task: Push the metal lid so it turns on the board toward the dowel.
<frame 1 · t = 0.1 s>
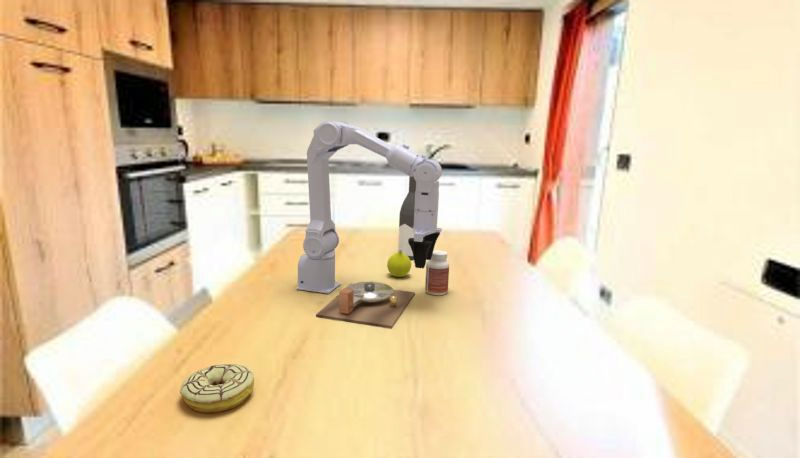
hand: (423, 263, 112), 10 cm above the table, fingers open, 7 cm apart
ornament: (398, 277, 133), on the table
pill bottle: (436, 292, 121), on the table
metal lid: (363, 290, 110), point 4 cm above the table, hinge at 0.0°
board: (369, 304, 110), on the table
dowel: (392, 308, 109), resting on board
decorated donut: (219, 398, 72), on the table
wine bottle: (409, 257, 153), on the table
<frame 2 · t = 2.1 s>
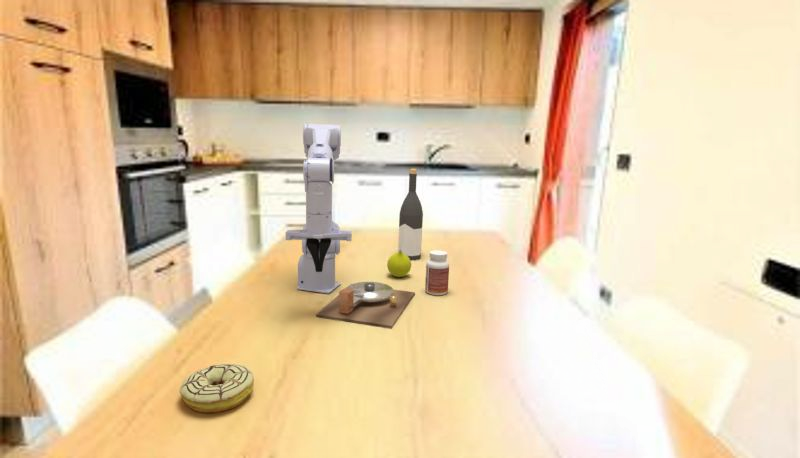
hand: (319, 270, 103), 10 cm above the table, fingers closed
nothing on the table moved.
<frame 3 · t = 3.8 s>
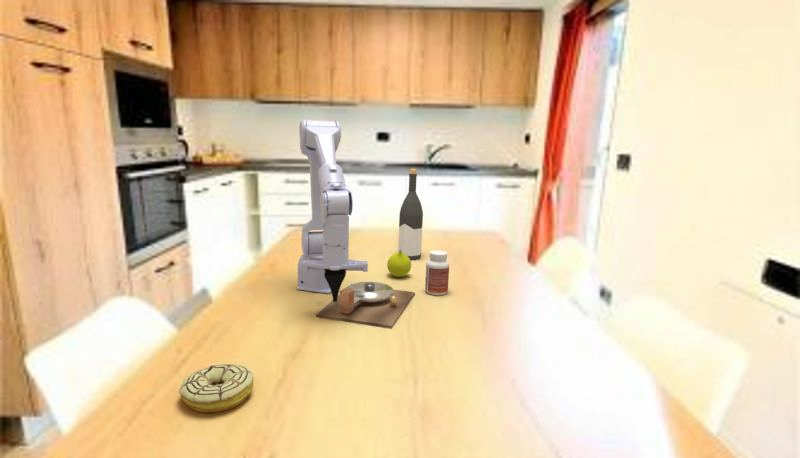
hand: (335, 300, 103), 3 cm above the table, fingers closed, pressing on metal lid
metal lid: (363, 290, 110), point 3 cm above the table, hinge at 0.8°, touching gripper
everything else where it was.
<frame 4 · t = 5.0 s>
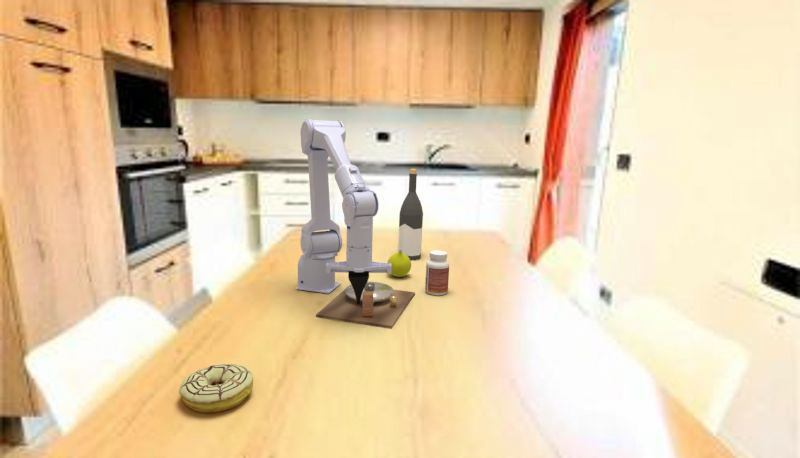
hand: (358, 302, 102), 3 cm above the table, fingers closed
metal lid: (369, 291, 110), point 3 cm above the table, hinge at 27.2°, touching gripper
everything else where it was.
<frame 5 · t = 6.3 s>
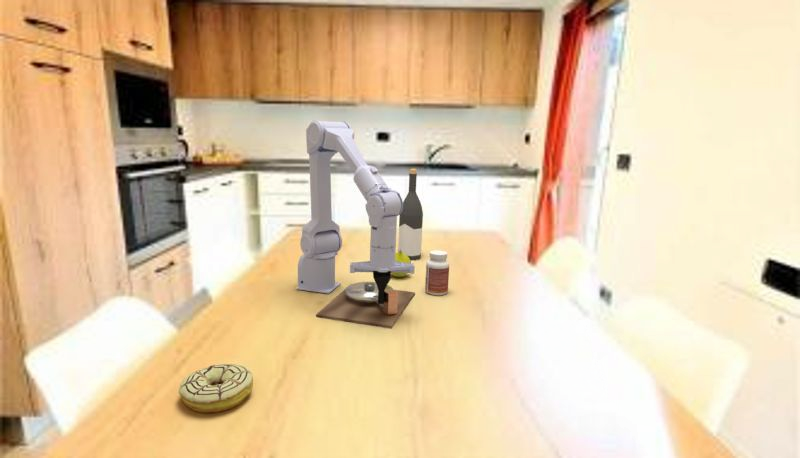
hand: (381, 302, 103), 3 cm above the table, fingers closed, pressing on metal lid
metal lid: (375, 290, 110), point 3 cm above the table, hinge at 55.1°, touching gripper
everything else where it was.
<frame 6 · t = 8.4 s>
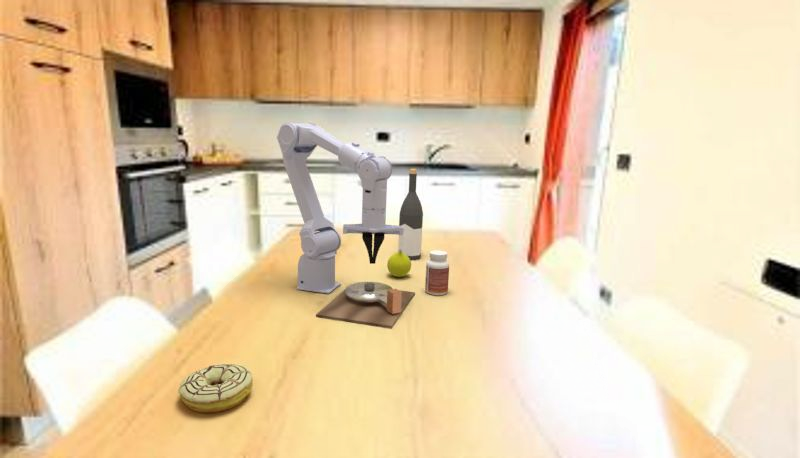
hand: (372, 262, 110), 10 cm above the table, fingers closed
metal lid: (376, 290, 110), point 3 cm above the table, hinge at 60.3°
everything else where it was.
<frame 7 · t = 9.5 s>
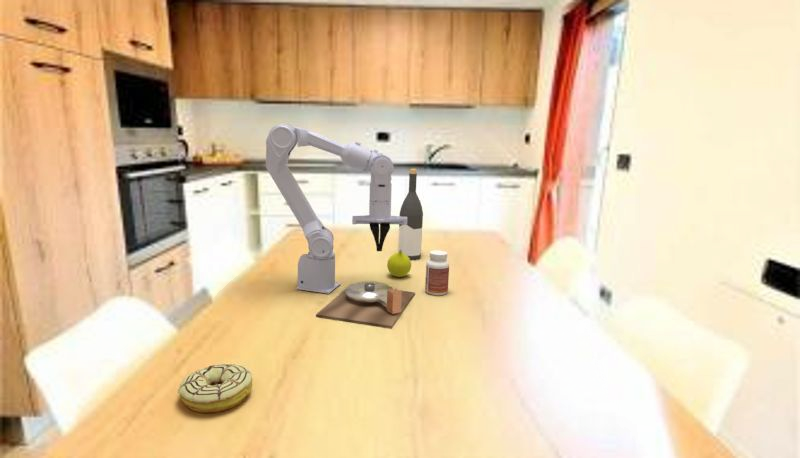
hand: (379, 250, 121), 10 cm above the table, fingers closed
nothing on the table moved.
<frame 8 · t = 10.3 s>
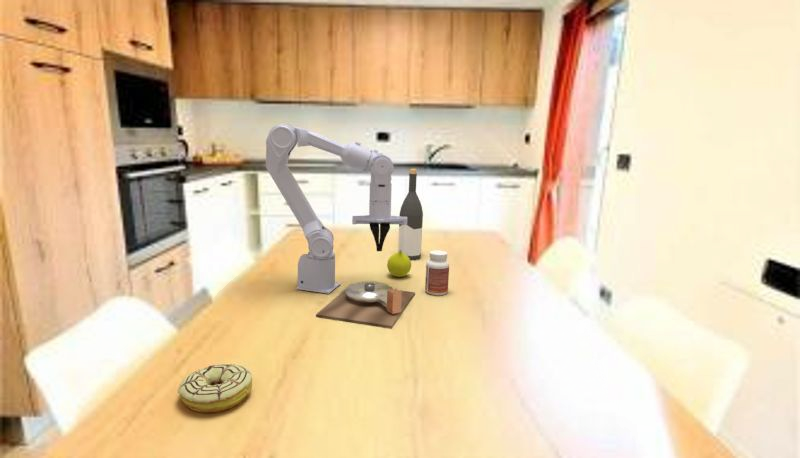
hand: (379, 250, 121), 10 cm above the table, fingers closed
nothing on the table moved.
at the end: metal lid at +60° (first picture: +0°); metal lid touching nothing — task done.
